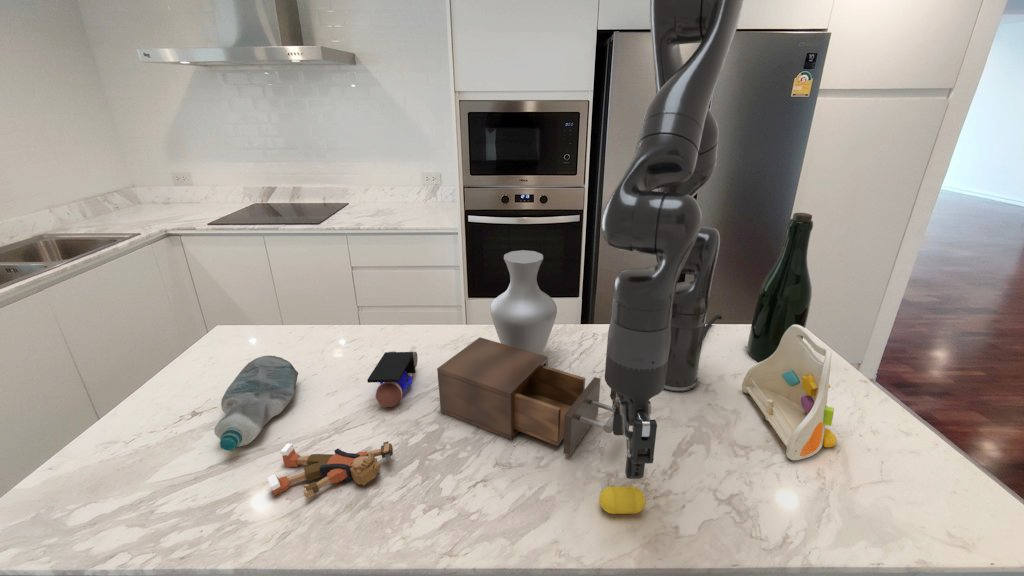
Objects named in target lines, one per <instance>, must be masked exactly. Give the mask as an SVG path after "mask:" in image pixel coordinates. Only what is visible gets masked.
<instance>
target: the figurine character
mask: <svg viewBox="0 0 1024 576" xmlns="http://www.w3.org/2000/svg"><path fill="white" fill-rule="evenodd" d="M418 359H419V357H418V353H417V351H386V352H384V353H383V355H382V356H381V358H380V359H379V361H378V363H377V364H376V365H375V367H374V369H373V370H372V371H371V373H370V374H369V376H368V377H367V380H366V381H367V383H379V384H380V385H379V386H378V387H377V389H376V391H375V399H376V402H377V403H378V404H379V405H380V406H382V407H383V408H393V407H395V406H396V405H398V404H399V403H400V402H401V400H402V398H403V391H405V390H407V387H409V386H410V385H411V384H412V383H413V376H414V375H413V374H416V368H417V366H418V362H419V361H418Z"/></svg>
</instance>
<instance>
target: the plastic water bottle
mask: <svg viewBox="0 0 1024 576" xmlns="http://www.w3.org/2000/svg"><path fill="white" fill-rule="evenodd" d="M298 376H299V372H298V371H297V370H296V368H295V367H294V365H292V363H291V362H290V361H289V360H287V359H284V358H283V357H280V356H276V355H261V356H258V357H256V358H254V359H253V360H250V361H249V362H248V363H246V365H245V366H244V367H243V368H242V369H241V371H240V372H239V373H238V374H237V375H236V377H235V378H234V380H233V381H232V382H231V383H230V385H229V386H228V387H227V388H226V390H225V391H224V394H223V396H222V398H221V402H220V406H221V410H222V411H223V412H224V413H225V416H223V417H222V418H221V419H219V421H218V423H217V424H215V427H214V429H213V432H214V435H215V436H216V437H217V438H218V439H219V440H220V441H219V446H220V448H221V449H223V450H224V451H233V450H234V449H235V448H237V447H244V446H245V447H246V446H248V445H249V444H250V443H252V442H253V441H254V440H255V439H256V438H257V437H258V435H259V434H260V433H261V431H262V430H263V429H264V427H265V425H266V424H267V423H268V422H269V421H270V420H271V419H273V418H274V417H276V416H278V415H279V414H281V413H282V412H283V411H284V410H285V408H286V407H287V406H288V405H289V403H290V402H291V400H292V399H293V398H294V397H295V394H296V387H297V382H298V381H297V380H298Z"/></svg>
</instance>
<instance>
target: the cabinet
mask: <svg viewBox="0 0 1024 576" xmlns="http://www.w3.org/2000/svg"><path fill="white" fill-rule="evenodd" d="M543 365H544V366H547V367H549V357H548V356H546V355H543V354H542V355H540V354H536V353H533V352H529V351H526V350H522V349H519V348H515V347H512V346H508V345H505V344H501V342H498V341H494V340H491V339H487V338H483V337H480V336H479V337H478V338H476V339H475V340H474V341H473V342H471V343H470V344H468V345H467V346H465V347H464V348H463V349H462V350H460V351H459V352H457V353H456V354H455V355H453V356H452V357H450V358H449V359H448V360H447V361H445V362H444V363H442V364H441V365H439V366H438V367H437V368H436V371H437V382H438V383H437V384H438V395H439V404H440V405H439V408H440V413H443V414H445V415H447V416H450V417H452V418H455V419H457V420H460V421H462V422H465V423H467V424H470V425H472V426H475V427H477V428H480V429H482V430H484V431H488V432H490V433H493V434H495V435H497V436H500V437H502V438H505V439H507V440H510V441H512V440H513V439H514V438H515V437H516V435H517V434H518V433H519V432H520V431H518V430H515V429H514V422H513V395H514V394H515V393H516V392H517V391H518V390H519V389H520V388H521V387H522V386H523V385H524V384H525V383H526V382H527V381H528V380H529V379H530V378H531V377H532V376H533V375H534V374H535V373H536V372H537V371H538V370H539V369H540V368H541V367H542V366H543Z"/></svg>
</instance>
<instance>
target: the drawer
mask: <svg viewBox="0 0 1024 576" xmlns="http://www.w3.org/2000/svg"><path fill="white" fill-rule="evenodd" d="M600 391H601V378H599V377H596V376H594V377H593V378H592V379H591V381H590V382H589V383H588V385H587V386H586V377H584V376H580V375H577V374H574V373H570V372H567V371H564V370H560V369H556V368H554V367H551V366H548V367H547V366H544V365H543V366H542V367H541V368H540V369H539V370H538V371H537V372H536V373H535V374H534V375H533V376H532V377H531V378H530V379H529V380H528V381H527V382H526V383H525V384H524V385H523V386H522V387H521V388H520V389H519V390H518V391H517V392H516V393H515V394H514V395H513V422H514V429H515V430H518V431H519V432H520V433H522V434H526V435H528V436H531V437H532V438H533V437H534V438H536V439H538V440H541V441H544V442H547V443H549V444H551V445H554V446H557V447H558V446H559V445H560V443H561V442H562V441H563V450H562V451H563V455H567V456H571V455H572V453H573V452H574V450H575V449H576V447H577V446H578V445H579V443H580V442H581V440H582V439H583V437H584V436H585V434H586V433H587V432H588V430H589V429H590V427H591V426H594V427H598V428H600V429H603V431H604V432H605V433H606V434H609V435H610V434H613V430H612V429H613V418H614V411H613V408H612V405H608V404H605V403H602V402H600V393H601V392H600ZM599 409H603V410H607V411H609V412H612V413H611V415H610V416H609V418H608V419H607V421H606V423H604V422H601V421H597V420H596V418H597V417H598V415H599Z"/></svg>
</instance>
